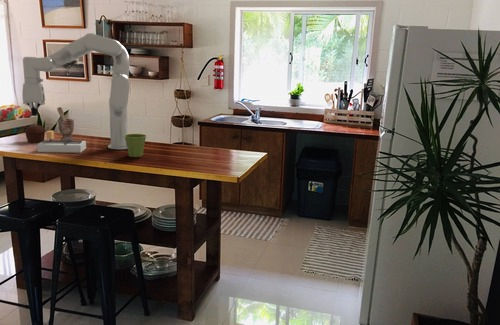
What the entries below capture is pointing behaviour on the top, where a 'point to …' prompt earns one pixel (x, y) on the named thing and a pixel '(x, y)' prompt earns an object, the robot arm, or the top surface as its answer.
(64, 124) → the mortar and pestle
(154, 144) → the top surface
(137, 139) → the plant pot
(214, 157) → the top surface
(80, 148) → the control panel
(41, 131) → the muffin
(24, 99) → the robot arm
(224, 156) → the top surface
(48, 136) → the slider tab
